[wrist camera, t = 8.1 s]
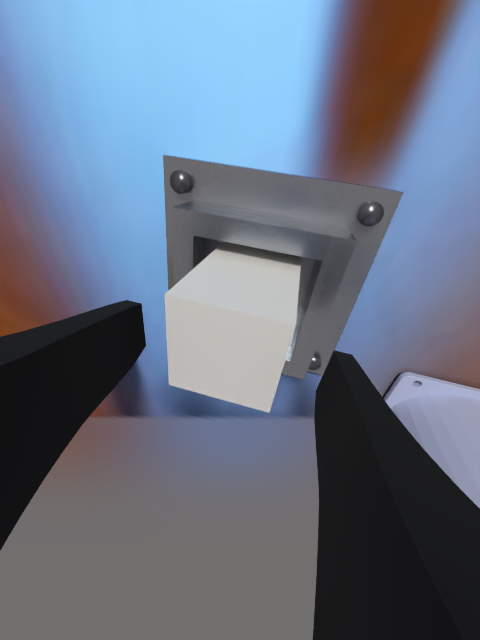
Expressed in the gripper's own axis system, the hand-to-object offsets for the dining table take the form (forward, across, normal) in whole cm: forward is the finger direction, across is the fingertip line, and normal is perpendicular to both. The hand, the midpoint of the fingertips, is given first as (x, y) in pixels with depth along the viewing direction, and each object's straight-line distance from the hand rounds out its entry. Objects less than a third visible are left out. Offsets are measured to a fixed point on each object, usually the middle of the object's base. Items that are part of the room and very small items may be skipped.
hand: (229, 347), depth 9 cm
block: (+6, 0, 0) cm, 6 cm away
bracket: (+7, 0, 0) cm, 7 cm away
